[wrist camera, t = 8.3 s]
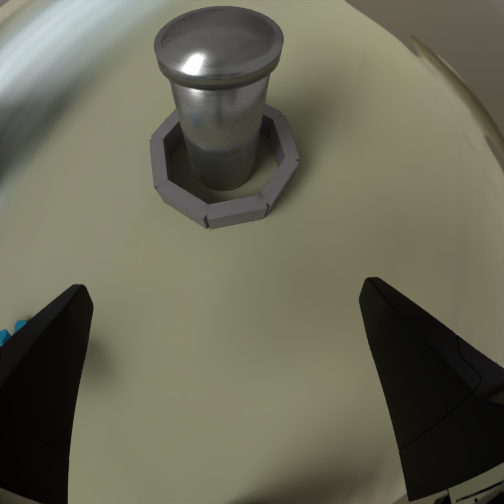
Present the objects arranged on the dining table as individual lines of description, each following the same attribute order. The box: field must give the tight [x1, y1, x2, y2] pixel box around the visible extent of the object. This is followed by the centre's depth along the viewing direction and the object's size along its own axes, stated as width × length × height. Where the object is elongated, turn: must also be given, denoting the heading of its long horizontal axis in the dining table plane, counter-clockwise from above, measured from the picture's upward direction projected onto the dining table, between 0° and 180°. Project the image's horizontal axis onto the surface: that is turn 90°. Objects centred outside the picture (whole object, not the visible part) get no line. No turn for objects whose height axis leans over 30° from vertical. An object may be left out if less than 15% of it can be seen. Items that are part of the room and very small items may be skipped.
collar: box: [150, 104, 300, 230], centre depth 20 cm, size 10×10×2 cm
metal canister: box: [154, 6, 284, 191], centre depth 15 cm, size 5×5×12 cm
